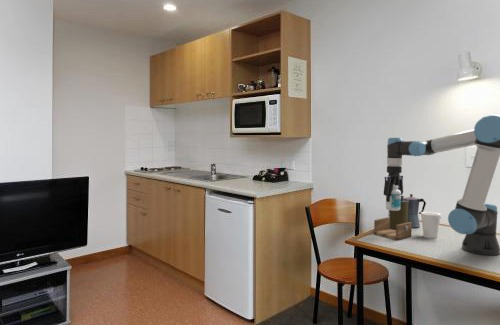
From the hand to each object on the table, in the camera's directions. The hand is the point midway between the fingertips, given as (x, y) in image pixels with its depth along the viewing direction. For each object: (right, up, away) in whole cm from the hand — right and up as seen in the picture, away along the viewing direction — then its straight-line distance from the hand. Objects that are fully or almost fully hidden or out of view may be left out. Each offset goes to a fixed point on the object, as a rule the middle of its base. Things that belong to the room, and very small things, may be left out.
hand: (393, 206), depth 187 cm
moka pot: (+21, -15, +21) cm, 33 cm away
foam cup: (+20, -17, -1) cm, 26 cm away
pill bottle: (0, -2, 0) cm, 2 cm away
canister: (+10, -15, +16) cm, 24 cm away
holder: (0, -16, +1) cm, 16 cm away
